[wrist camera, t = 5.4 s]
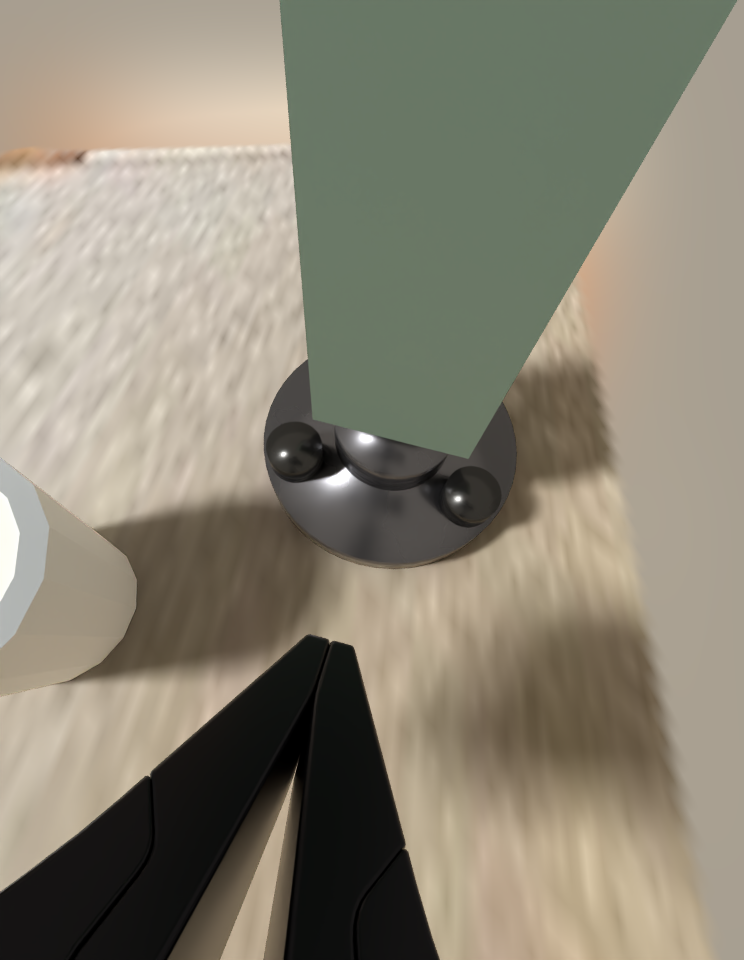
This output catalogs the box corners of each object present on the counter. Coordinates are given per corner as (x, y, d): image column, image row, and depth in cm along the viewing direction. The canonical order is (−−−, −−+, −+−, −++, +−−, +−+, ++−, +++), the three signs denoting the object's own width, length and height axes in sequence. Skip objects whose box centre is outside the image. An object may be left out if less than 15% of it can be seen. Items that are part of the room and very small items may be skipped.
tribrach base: (489, 598, 18) (515, 587, 16) (231, 530, 19) (212, 508, 16) (520, 381, 23) (545, 342, 20) (309, 329, 23) (305, 283, 20)
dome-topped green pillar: (458, 476, 17) (946, -356, 3) (314, 439, 17) (241, -485, 4) (480, 355, 19) (807, -390, 6) (354, 324, 20) (400, -467, 6)
